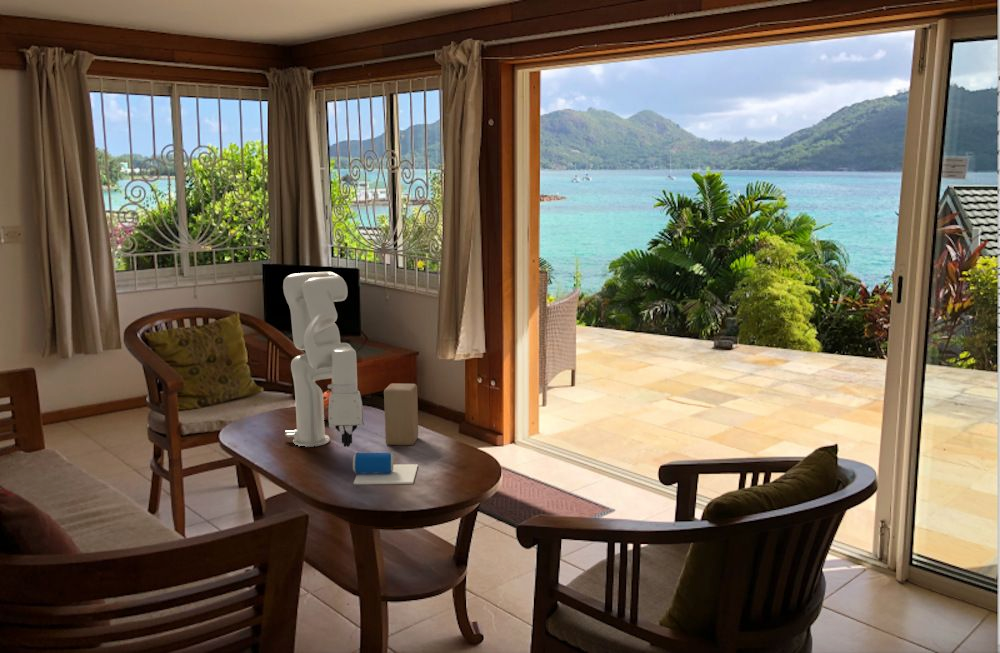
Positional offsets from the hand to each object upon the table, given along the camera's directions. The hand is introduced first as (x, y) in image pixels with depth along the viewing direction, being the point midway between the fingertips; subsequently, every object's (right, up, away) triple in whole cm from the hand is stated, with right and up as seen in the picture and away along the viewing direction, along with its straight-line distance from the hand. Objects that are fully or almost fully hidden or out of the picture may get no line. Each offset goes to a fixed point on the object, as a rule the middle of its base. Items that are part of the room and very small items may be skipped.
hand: (347, 445), depth 259 cm
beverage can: (+2, -6, +1) cm, 6 cm away
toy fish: (-18, +1, +63) cm, 65 cm away
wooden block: (+13, -4, +35) cm, 38 cm away
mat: (+12, -10, +1) cm, 15 cm away
